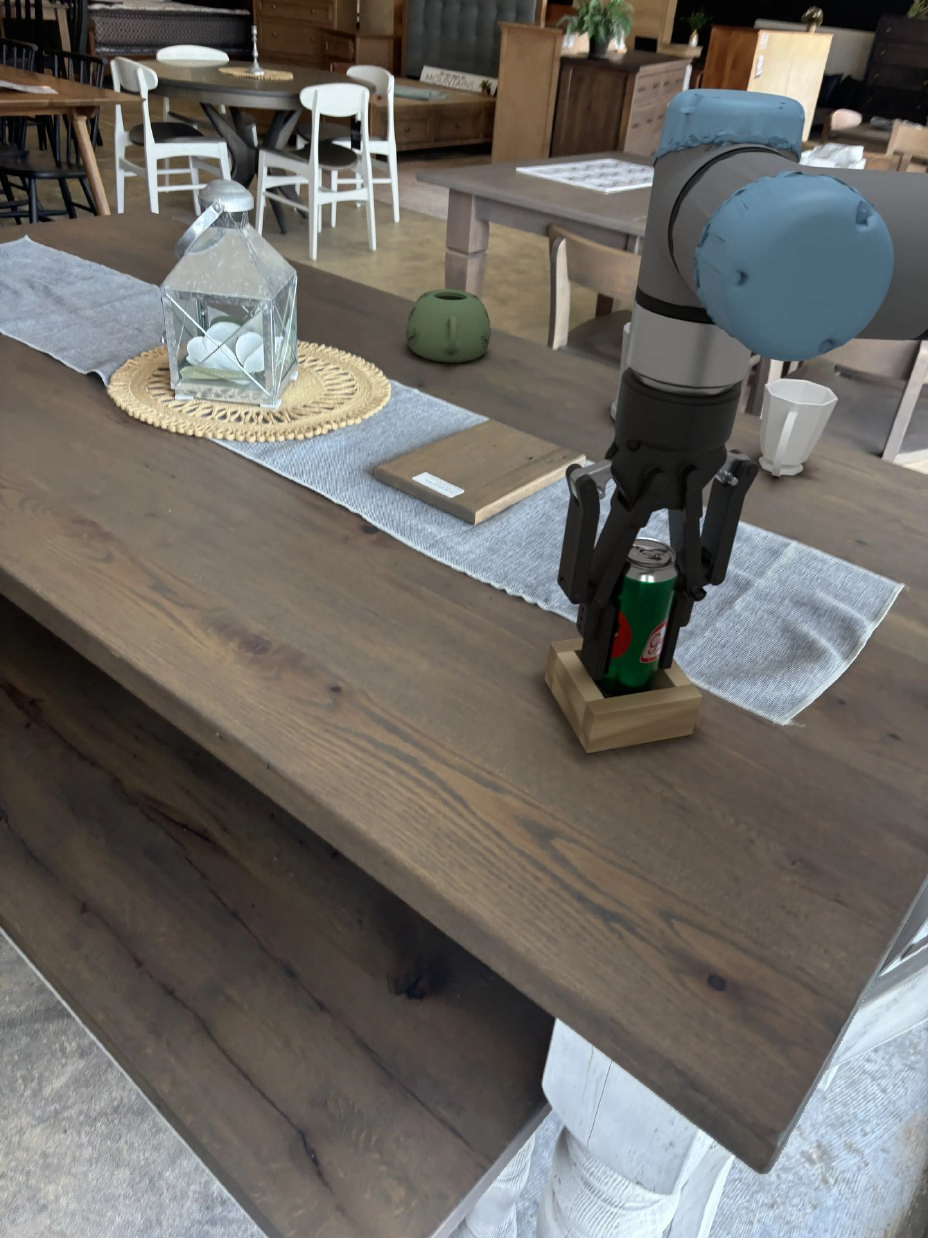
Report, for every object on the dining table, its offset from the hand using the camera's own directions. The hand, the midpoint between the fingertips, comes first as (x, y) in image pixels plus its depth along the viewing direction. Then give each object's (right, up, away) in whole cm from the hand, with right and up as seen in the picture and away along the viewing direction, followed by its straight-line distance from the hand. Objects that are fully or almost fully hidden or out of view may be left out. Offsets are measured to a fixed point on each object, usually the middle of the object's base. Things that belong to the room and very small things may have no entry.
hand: (625, 663), depth 71 cm
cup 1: (+12, +30, +52) cm, 61 cm away
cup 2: (+26, +21, +40) cm, 52 cm away
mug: (-15, +43, +67) cm, 81 cm away
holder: (0, -4, +3) cm, 5 cm away
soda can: (0, -2, +1) cm, 2 cm away
